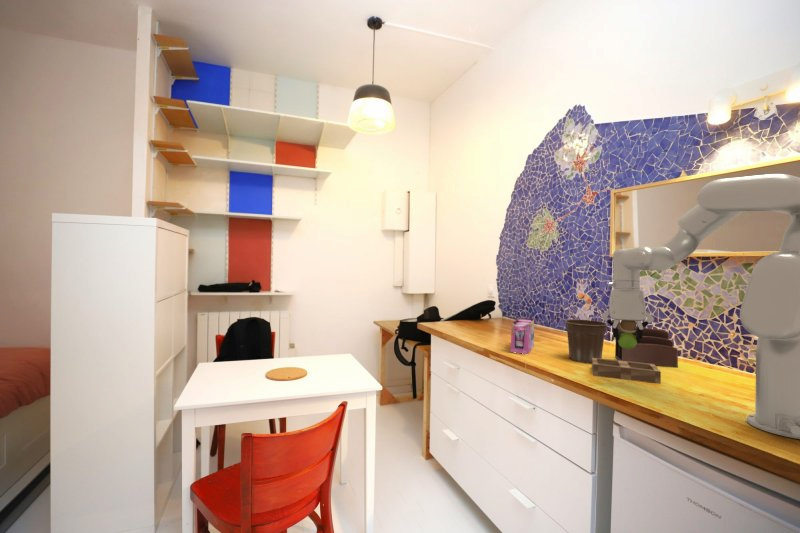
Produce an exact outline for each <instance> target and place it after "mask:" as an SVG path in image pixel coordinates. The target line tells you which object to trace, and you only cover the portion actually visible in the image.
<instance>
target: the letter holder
mask: <svg viewBox="0 0 800 533" xmlns="http://www.w3.org/2000/svg"><path fill="white" fill-rule="evenodd" d="M617 328H618V327H617ZM636 329H637V327H636V328H635V329H634V330H636ZM622 333H624V332H622V331H620V330H619V328H618V337H619V335H620V334H622ZM632 334H633V335H634V336H635V337H636V332H634V333H632ZM669 336H670V335H669V332H668V331H667V330H662V329H657V328H648V327H644V328H643V329H642V339H640V342H638V341H637V344H636V346H635V347H634V348H632V349H624V348H622V347H621V346H620V345H619V343H618V340H615V345H614V346H615V349H614V350H615V352H614V353H615V355H614V358H615V360H621V361H630V362H640V363H649V364H654V365H655V366H656V367H665V368H675V369H677V368H678V367H679V365H678V364H679V351H678V348H676V347H674V341H673V340H672V339H669Z"/></svg>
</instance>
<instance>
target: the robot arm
mask: <svg viewBox="0 0 800 533" xmlns="http://www.w3.org/2000/svg"><path fill="white" fill-rule="evenodd" d="M697 193H698V194H697V196H696V201H697V204H696V205H695V206H694V207H692V208H690V209H689V210H688V211H687V212H686V213H684V214H682V216H680V217H679V219H678V221H677V224H678V226H679V227H678V228H679V229H678V231H677V233H676V234H675V235H674V236H673V237H672V238H671V239H670V240H668V241H667V242H666V243H664V244H663V245H661V246H648V245H647V246H646V245H645V246H639V247H633V248H619V249H615V250H614V251H613V253H612V255H613V256H612V260H613V262H612V264H613V265H612V266H613V274H612V275H613V281H609V282H608V287H612V288H613V289H611V290H610V295H609V296H610V297H609V306H608V307H609V308H608V309H606V311H605V312H604V313H603V314H602V315H601V319H602V320H604V321H605V323H607V324H609V326H611V328H612V338H614V340H615V341H616V340H619V339H618V326H617V324H618V322H619V320H620V321H622V320H630V321H635V322H636V328H637V329H636V339H637V341H638V342H640V339H642V329H643V328H647V326H649V324H651V323H652V322H653V321H655V318H654V317H653V316H652V315H651V314H650V313H649V312H648V311H647V310H646V300H645V294H644V290H643V289H642V290H641V278H640V277H641V275H640V272H641V271H667V270H669V269H671V268H673V267H674V266H676V265H679V263H682V261H684V260H686V258H688V257H690V256H691V255H692V254H693V253H694V252H695V251H697V249H698V248H699V246H700V245H701V244H702V242H703V241H704V240H705V239H706V238H708V237H709V236H710V235H712V234H714V233H715V232H716V231H717V230H719V229H720V228H722V227H724V226H725V225H726V224H728V223H729V222H731V221H732V220H734V219H736V218H737V217H738V216H740V215H741V214H743V213H744V212H771V213H772V212H773V213H779V214H785V215H788V216H789V217H790V222H789V224H788V225H787V227H786V229H785V231H784V233H783V236H782V241H781V243H780V245H779V246H780V247H779V250H778V251H776V252H772V253H769V254H767V255H765V256H764V257H762V258H760V259H759V260H758V261H757V263H756V264H755V266H754V267H753V269H752V271H751V274H750V277H749V280H748V284H747V286H746V290H745V293H744V295H743V296H744V297H743V300H742V303H741V306H740V310H739V320H740V323H741V326H742V327H743V328H744V329H745V330H746V331H747V332H748V333H750V335H752V336H755V337H757V341H756V349H755V350H756V351H755V400H754V401H755V406H754V407H755V412H754V413H751V414H748V415H746V422H747V423H748V424H749V425H751V426H752V427H754V428H756V429H759V430H762V431H763V432H767V433H771V434H774V435H778V436H782V437H784V438H785V437H786V438H792V439H796V440H797V439H798V440H800V177H799V176H795V175H792V174H786V173H769V174H768V173H767V174H758V175H749V176H737V177H728V178H718V179H714V180H712V181H709V182H708V183H706V184H705V185H704V186H702V188H700V190H699V191H698V192H697ZM640 270H641V271H640ZM609 318H611V319H613V321H612V320H611V319H609Z"/></svg>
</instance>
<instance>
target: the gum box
mask: <svg viewBox="0 0 800 533" xmlns="http://www.w3.org/2000/svg"><path fill="white" fill-rule="evenodd" d="M534 347H535V319H533V318H525V317H524V318H521V317H518V318H517V319H516V320H514V321H513V322H511V332H510V352H516V353H515V354H517V353H523V354H522V355H525V354H528V355H529V354H530V353H529V352H531V351H532V350H533V348H534Z"/></svg>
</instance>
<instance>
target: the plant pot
mask: <svg viewBox="0 0 800 533" xmlns="http://www.w3.org/2000/svg"><path fill="white" fill-rule="evenodd" d="M564 323H565V329H566V332H567V342H568V344H567V345H568V356H569V359H571V361H574V362H578V363H584V364H591V363H592V358H602V359H603V349H604V340H605V334H606V331H607V326H608V324H609V323H607V322H604V321H599V320H590V319H579V318H578V319H574V318H572V319H571V318H570V319H565V320H564Z"/></svg>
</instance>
